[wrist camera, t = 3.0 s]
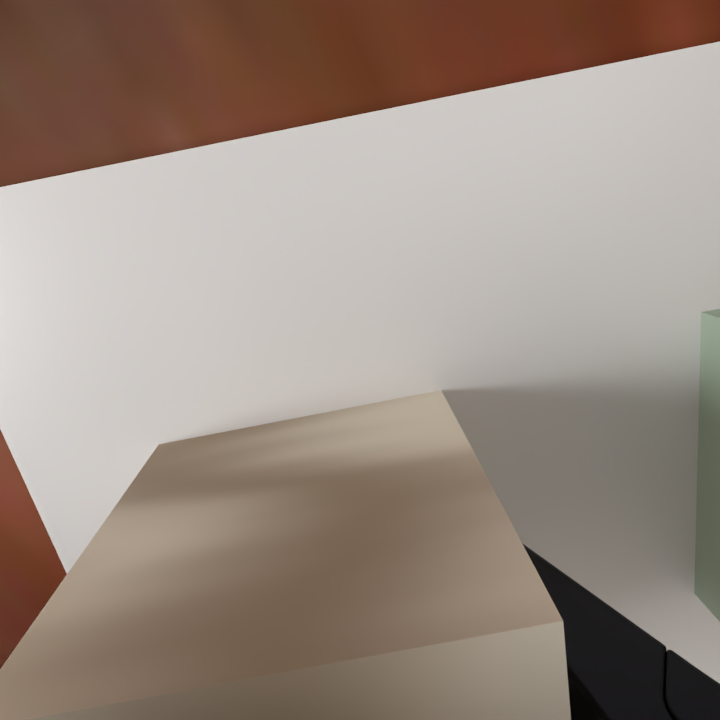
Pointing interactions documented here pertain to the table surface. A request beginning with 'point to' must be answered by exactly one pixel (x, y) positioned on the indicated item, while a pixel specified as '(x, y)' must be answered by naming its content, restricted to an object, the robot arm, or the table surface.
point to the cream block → (301, 585)
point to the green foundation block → (708, 467)
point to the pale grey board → (400, 309)
